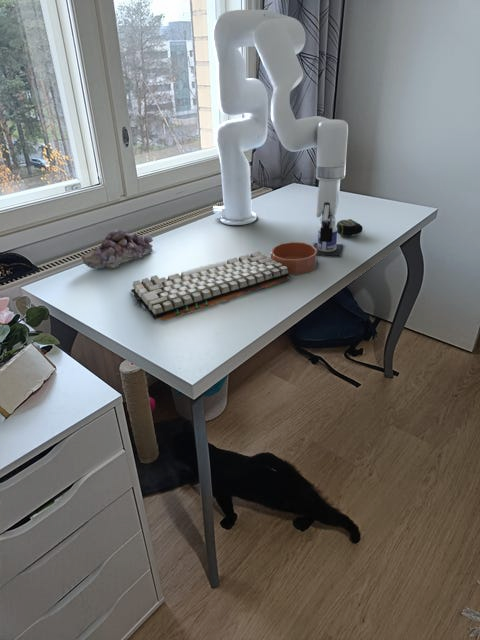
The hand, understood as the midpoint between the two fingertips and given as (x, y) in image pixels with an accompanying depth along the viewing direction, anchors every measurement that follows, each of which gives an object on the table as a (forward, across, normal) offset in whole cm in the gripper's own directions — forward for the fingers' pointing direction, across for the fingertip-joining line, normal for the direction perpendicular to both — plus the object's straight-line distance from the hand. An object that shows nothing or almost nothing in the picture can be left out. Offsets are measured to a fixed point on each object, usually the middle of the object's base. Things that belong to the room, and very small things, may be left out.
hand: (327, 236), depth 127 cm
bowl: (+4, +11, -8) cm, 14 cm away
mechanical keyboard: (+4, +27, -26) cm, 38 cm away
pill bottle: (+4, 0, 0) cm, 4 cm away
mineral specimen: (+4, +17, -57) cm, 60 cm away
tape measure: (+4, -14, +5) cm, 15 cm away
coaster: (+4, 0, 0) cm, 4 cm away
